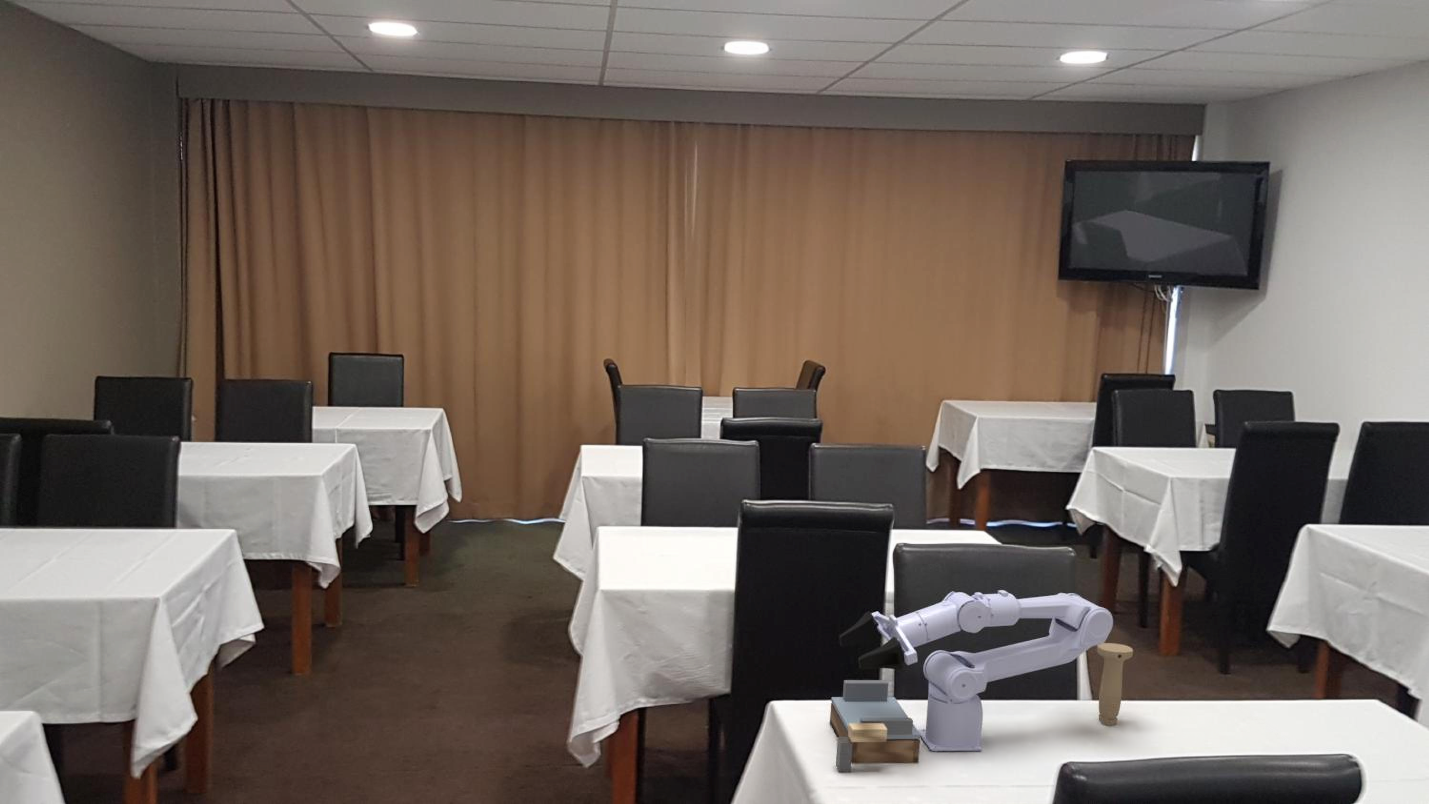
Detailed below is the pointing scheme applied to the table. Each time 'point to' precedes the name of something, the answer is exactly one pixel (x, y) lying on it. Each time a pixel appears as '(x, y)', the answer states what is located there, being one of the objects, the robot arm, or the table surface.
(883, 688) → the lid
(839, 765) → the block
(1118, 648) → the handle
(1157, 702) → the table surface
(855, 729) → the tan wooden block
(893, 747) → the brown wooden shallow box
